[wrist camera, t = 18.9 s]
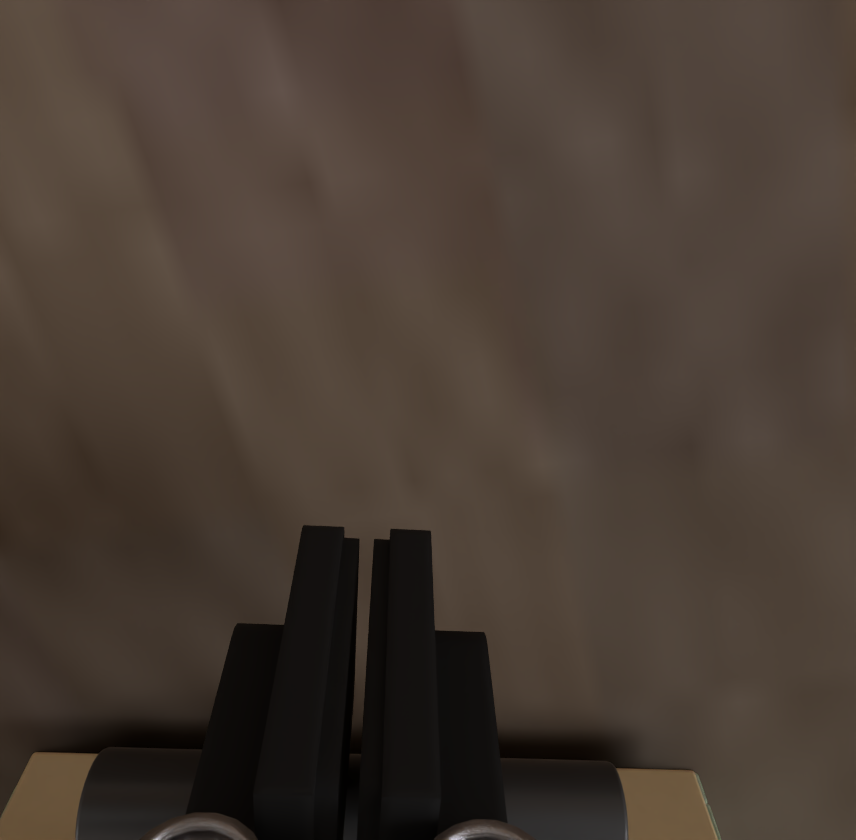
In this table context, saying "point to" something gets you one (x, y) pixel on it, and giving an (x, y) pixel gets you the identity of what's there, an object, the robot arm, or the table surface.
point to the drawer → (349, 797)
